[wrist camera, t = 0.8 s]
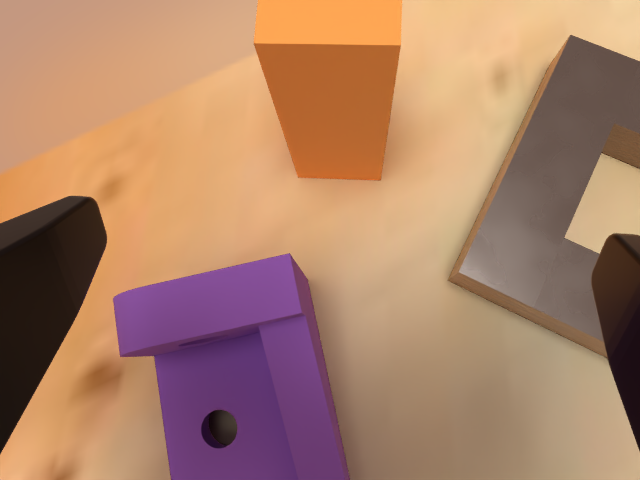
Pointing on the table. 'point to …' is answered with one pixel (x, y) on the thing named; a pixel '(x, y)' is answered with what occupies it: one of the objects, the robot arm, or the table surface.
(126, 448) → the table surface
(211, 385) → the bracket
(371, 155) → the tall orange pillar
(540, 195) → the slotted square tile
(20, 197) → the table surface
